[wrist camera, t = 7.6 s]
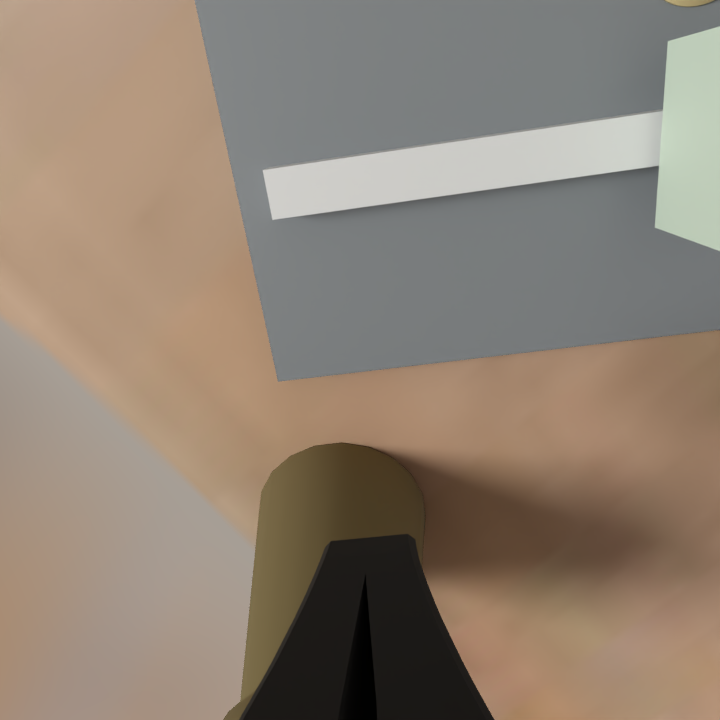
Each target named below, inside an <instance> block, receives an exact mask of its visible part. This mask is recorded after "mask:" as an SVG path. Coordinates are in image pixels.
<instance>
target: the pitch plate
mask: <svg viewBox="0 0 720 720" xmlns="http://www.w3.org/2000/svg"><path fill="white" fill-rule="evenodd" d="M195 4H196V8H197V13H198V17H199V22H200V27H201V31H202V36H203V40H204V45H205V49H206V54H207V59H208V63H209V68H210V72H211V77H212V81H213V86H214V91H215V95H216V100H217V104H218V109H219V113H220V118H221V123H222V127H223V132H224V136H225V141H226V145H227V150H228V155H229V159H230V164H231V168H232V173H233V177H234V182H235V187H236V191H237V196H238V200H239V205H240V209H241V214H242V219H243V223H244V228H245V232H246V237H247V241H248V246H249V251H250V255H251V260H252V264H253V269H254V273H255V278H256V283H257V287H258V292H259V296H260V301H261V305H262V310H263V315H264V319H265V324H266V328H267V333H268V337H269V342H270V347H271V351H272V356H273V360H274V365H275V369H276V374H277V379H278V381H287V380H295V379H304V378H312V377H321V376H329V375H338V374H346V373H355V372H364V371H372V370H381V369H389V368H398V367H406V366H415V365H423V364H432V363H440V362H449V361H457V360H466V359H474V358H483V357H491V356H500V355H509V354H517V353H526V352H534V351H543V350H551V349H560V348H568V347H577V346H585V345H594V344H602V343H611V342H619V341H628V340H636V339H645V338H654V337H662V336H671V335H679V334H688V333H696V332H705V331H713V330H720V251H718V250H715V249H712V248H710V247H707V246H704V245H701V244H699V243H696V242H693V241H690V240H688V239H685V238H682V237H679V236H677V235H674V234H671V233H669V232H666V231H663V230H660V229H658V228H655V217H656V203H657V188H658V174H659V160H660V146H661V131H662V117H663V103H664V88H665V74H666V60H667V46H668V41H670V40H674V39H677V38H681V37H684V36H688V35H691V34H695V33H698V32H702V31H705V30H709V29H712V28H716V27H719V26H720V0H195Z"/></svg>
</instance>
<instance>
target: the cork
mask: <svg viewBox="0 0 720 720" xmlns="http://www.w3.org/2000/svg"><path fill="white" fill-rule="evenodd" d="M424 529H425V510H424V502H423V495H422V493H421V491H420V489H419V487H418V486H417V484H416V482H415V480H414V478H413V476H412V475H411V474H410V473H409V472H408V471H407V470H406V469H405V468H403V467H402V466H401V465H400V464H399V463H398V462H397V461H396V460H395V459H393V458H392V457H389V456H387V455H385V454H383V453H381V452H379V451H376V450H374V449H372V448H370V447H365V446H359V445H353V444H346V443H335V444H327V445H318V446H313V447H311V448H308V449H306V450H304V451H301V452H299V453H297V454H294V455H292V456H290V457H289V458H288V459H286V460H285V461H284V462H283V463H282V464H281V465H280V466H278V467H277V468H276V469H275V470H274V471H273V472H272V473H271V475H270V477H269V479H268V481H267V482H266V484H265V486H264V488H263V490H262V492H261V501H260V509H259V519H258V529H257V539H256V549H255V560H254V570H253V579H252V589H251V600H250V610H249V620H248V631H247V640H246V651H245V660H244V671H243V680H242V690H241V700H240V702H239V703H238V704H237V705H236V706H235V707H233V708H232V709H231V710H230V711H229V712H228V714H227V715H226V716H225V718H224V720H239V719H240V717H241V715H242V713H243V712H244V710H245V708H246V706H247V705H248V703H249V701H250V700H251V698H252V696H253V694H254V693H255V691H256V689H257V687H258V686H259V684H260V682H261V681H262V679H263V677H264V675H265V674H266V672H267V670H268V668H269V666H270V664H271V663H272V661H273V659H274V657H275V655H276V653H277V651H278V649H279V647H280V645H281V643H282V641H283V639H284V637H285V635H286V633H287V631H288V629H289V627H290V625H291V624H292V622H293V620H294V618H295V616H296V613H297V611H298V609H299V607H300V605H301V603H302V601H303V599H304V596H305V594H306V592H307V590H308V588H309V585H310V583H311V581H312V579H313V576H314V574H315V571H316V569H317V567H318V564H319V562H320V559H321V556H322V554H323V551H324V548H325V547H326V546H327V545H328V543H329V542H330V541H336V540H347V539H357V538H368V537H379V536H389V535H400V534H409V535H410V536H412V537H413V538H414V539H415V540H416V547H417V552H418V556H419V560H420V563H421V566H422V559H423V544H424Z"/></svg>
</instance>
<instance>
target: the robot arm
mask: <svg viewBox="0 0 720 720" xmlns="http://www.w3.org/2000/svg"><path fill="white" fill-rule="evenodd" d="M239 720H494V718H493V717H492V715H491V713H490V711H489V710H488V708H487V706H486V704H485V702H484V701H483V699H482V697H481V695H480V693H479V692H478V690H477V688H476V686H475V684H474V683H473V681H472V679H471V677H470V675H469V673H468V671H467V669H466V667H465V665H464V663H463V662H462V660H461V657H460V655H459V653H458V651H457V649H456V647H455V645H454V643H453V641H452V639H451V637H450V635H449V633H448V631H447V628H446V626H445V624H444V622H443V620H442V618H441V616H440V613H439V611H438V609H437V606H436V604H435V602H434V599H433V597H432V594H431V592H430V589H429V586H428V584H427V581H426V578H425V576H424V573H423V570H422V566H421V563H420V560H419V556H418V552H417V547H416V540H415V539H414V538H413V537H412V536H410V535H409V534H400V535H389V536H379V537H368V538H357V539H347V540H336V541H330V542H329V543H328V545H327V546H326V547H325V548H324V551H323V554H322V556H321V559H320V562H319V564H318V567H317V569H316V571H315V574H314V576H313V579H312V581H311V583H310V585H309V588H308V590H307V592H306V594H305V596H304V599H303V601H302V603H301V605H300V607H299V609H298V611H297V613H296V616H295V618H294V620H293V622H292V624H291V625H290V627H289V629H288V631H287V633H286V635H285V637H284V639H283V641H282V643H281V645H280V647H279V649H278V651H277V653H276V655H275V657H274V659H273V661H272V663H271V664H270V666H269V668H268V670H267V672H266V674H265V675H264V677H263V679H262V681H261V682H260V684H259V686H258V687H257V689H256V691H255V693H254V694H253V696H252V698H251V700H250V701H249V703H248V705H247V706H246V708H245V710H244V712H243V713H242V715H241V717H240V719H239Z"/></svg>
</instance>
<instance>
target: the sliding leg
mask: <svg viewBox="0 0 720 720" xmlns="http://www.w3.org/2000/svg"><path fill="white" fill-rule="evenodd" d="M655 228H658V229H660V230H663V231H666V232H669V233H671V234H674V235H677V236H679V237H682V238H685V239H688V240H690V241H693V242H696V243H699V244H701V245H704V246H707V247H710V248H712V249H715V250H718V251H720V26H719V27H716V28H712V29H709V30H705V31H702V32H698V33H695V34H691V35H688V36H684V37H681V38H677V39H674V40H670V41H668V46H667V60H666V74H665V88H664V103H663V117H662V131H661V146H660V160H659V174H658V188H657V203H656V217H655Z"/></svg>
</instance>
